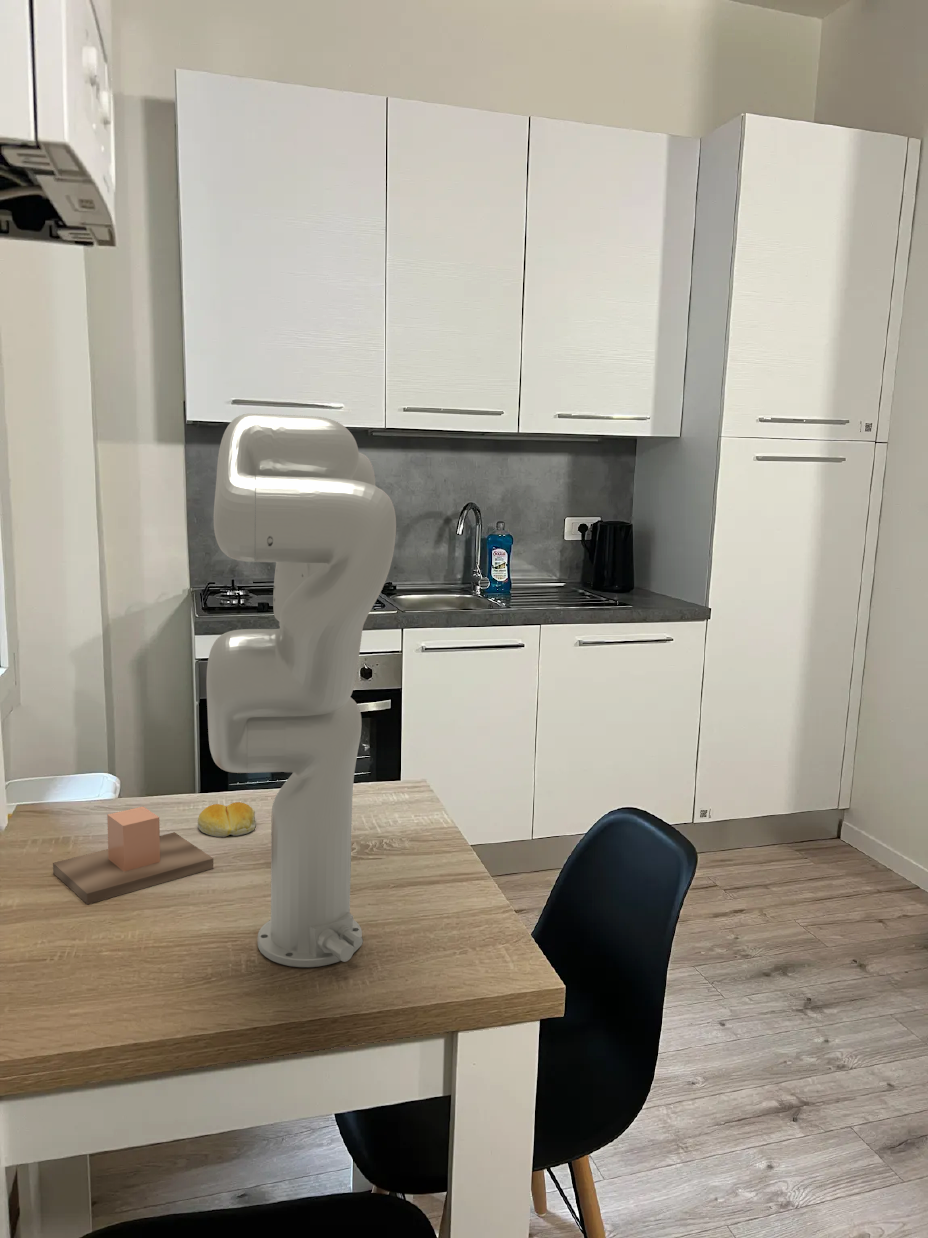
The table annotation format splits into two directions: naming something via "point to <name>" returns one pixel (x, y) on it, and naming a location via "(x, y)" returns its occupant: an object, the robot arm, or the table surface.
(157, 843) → the salmon orange block
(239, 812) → the bread roll
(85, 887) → the flat brown rectangular board
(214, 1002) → the table surface
